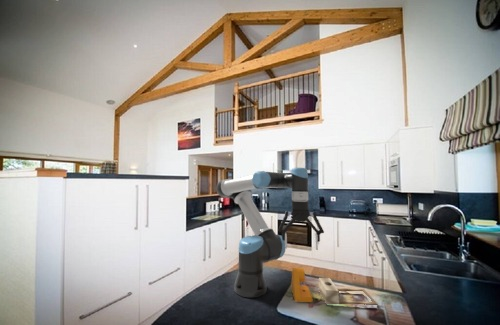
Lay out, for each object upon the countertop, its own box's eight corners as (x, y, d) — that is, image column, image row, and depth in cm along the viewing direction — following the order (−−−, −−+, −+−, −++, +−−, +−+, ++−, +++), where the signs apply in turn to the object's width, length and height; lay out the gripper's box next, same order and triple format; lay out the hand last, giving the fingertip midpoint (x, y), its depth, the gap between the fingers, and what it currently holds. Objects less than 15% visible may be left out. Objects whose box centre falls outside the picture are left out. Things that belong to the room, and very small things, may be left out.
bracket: (313, 304, 85) (312, 273, 86) (295, 303, 85) (295, 273, 87) (307, 291, 95) (306, 264, 97) (291, 290, 96) (291, 263, 97)
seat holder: (326, 306, 83) (325, 289, 84) (319, 291, 95) (318, 277, 96) (378, 309, 82) (377, 292, 82) (364, 293, 94) (363, 279, 94)
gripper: (273, 200, 93) (273, 249, 90) (330, 201, 91) (331, 252, 88) (273, 200, 100) (273, 245, 98) (325, 200, 98) (326, 247, 95)
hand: (300, 248), depth 93 cm, fingers open, 13 cm apart
